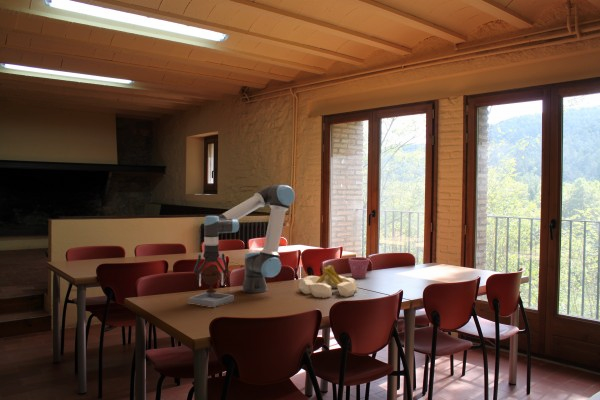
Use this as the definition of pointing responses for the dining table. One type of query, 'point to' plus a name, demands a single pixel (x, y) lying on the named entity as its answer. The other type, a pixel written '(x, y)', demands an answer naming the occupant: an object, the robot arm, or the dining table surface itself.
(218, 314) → the dining table surface
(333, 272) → the campfire
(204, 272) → the brown model tree
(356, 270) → the plant pot
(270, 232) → the robot arm
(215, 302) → the tray
